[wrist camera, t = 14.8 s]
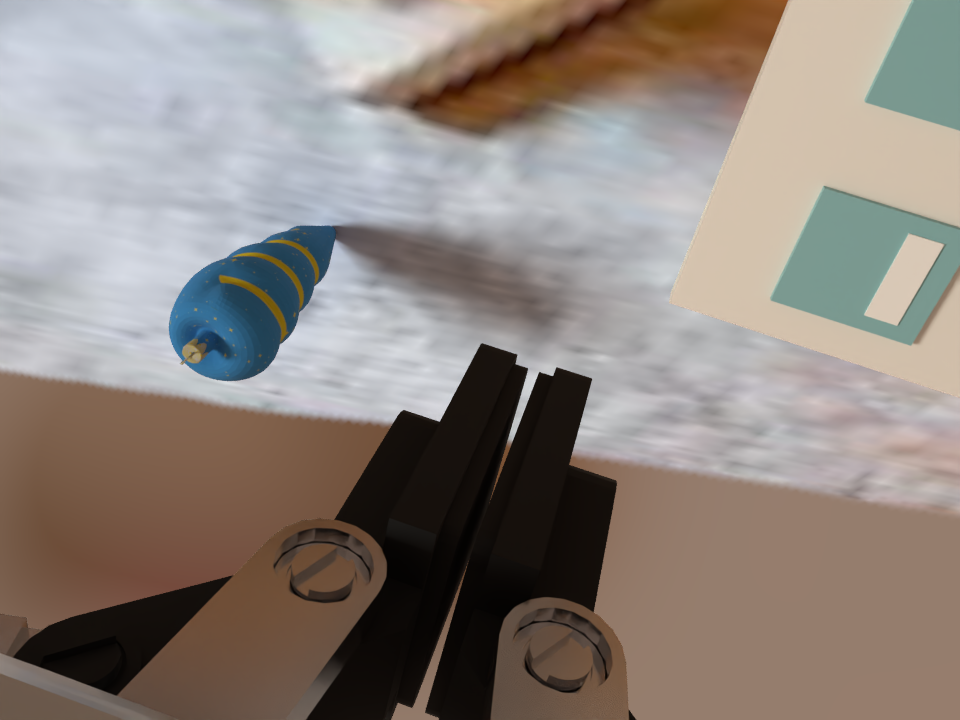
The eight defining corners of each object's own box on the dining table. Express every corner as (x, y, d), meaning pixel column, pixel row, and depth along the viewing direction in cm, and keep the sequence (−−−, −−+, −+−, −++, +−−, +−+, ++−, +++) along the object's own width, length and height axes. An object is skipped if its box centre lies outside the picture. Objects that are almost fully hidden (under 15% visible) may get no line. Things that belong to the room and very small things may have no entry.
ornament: (390, 242, 48) (267, 376, 35) (331, 291, 50) (197, 432, 37) (326, 170, 46) (175, 281, 34) (269, 224, 49) (109, 346, 36)
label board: (890, -254, 32) (898, -260, 31) (1331, -141, 31) (1360, -141, 29) (670, 293, 45) (668, 307, 43) (973, 391, 43) (981, 409, 42)
